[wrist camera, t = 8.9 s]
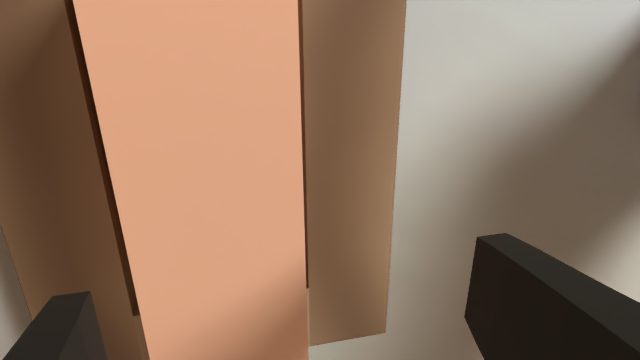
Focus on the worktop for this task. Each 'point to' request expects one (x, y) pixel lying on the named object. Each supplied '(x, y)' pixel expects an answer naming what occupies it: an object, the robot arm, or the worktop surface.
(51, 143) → the board
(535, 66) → the worktop surface
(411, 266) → the worktop surface
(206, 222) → the bar
